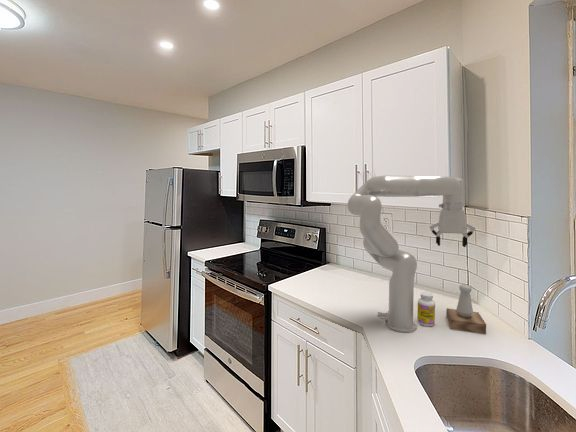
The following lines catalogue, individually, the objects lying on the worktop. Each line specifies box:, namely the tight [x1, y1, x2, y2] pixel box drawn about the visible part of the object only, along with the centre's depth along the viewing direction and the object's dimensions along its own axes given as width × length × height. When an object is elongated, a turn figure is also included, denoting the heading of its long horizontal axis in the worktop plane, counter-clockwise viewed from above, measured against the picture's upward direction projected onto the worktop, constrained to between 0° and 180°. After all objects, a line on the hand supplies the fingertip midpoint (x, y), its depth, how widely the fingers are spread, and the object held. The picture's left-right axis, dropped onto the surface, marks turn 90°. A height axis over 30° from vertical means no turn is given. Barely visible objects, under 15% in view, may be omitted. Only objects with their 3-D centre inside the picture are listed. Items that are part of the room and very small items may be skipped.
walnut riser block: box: [445, 308, 487, 335], centre depth 116 cm, size 12×12×4 cm
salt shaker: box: [456, 284, 474, 318], centre depth 115 cm, size 6×6×13 cm
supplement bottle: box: [416, 291, 436, 327], centre depth 118 cm, size 7×7×13 cm
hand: (451, 245), depth 121 cm, fingers open, 9 cm apart
